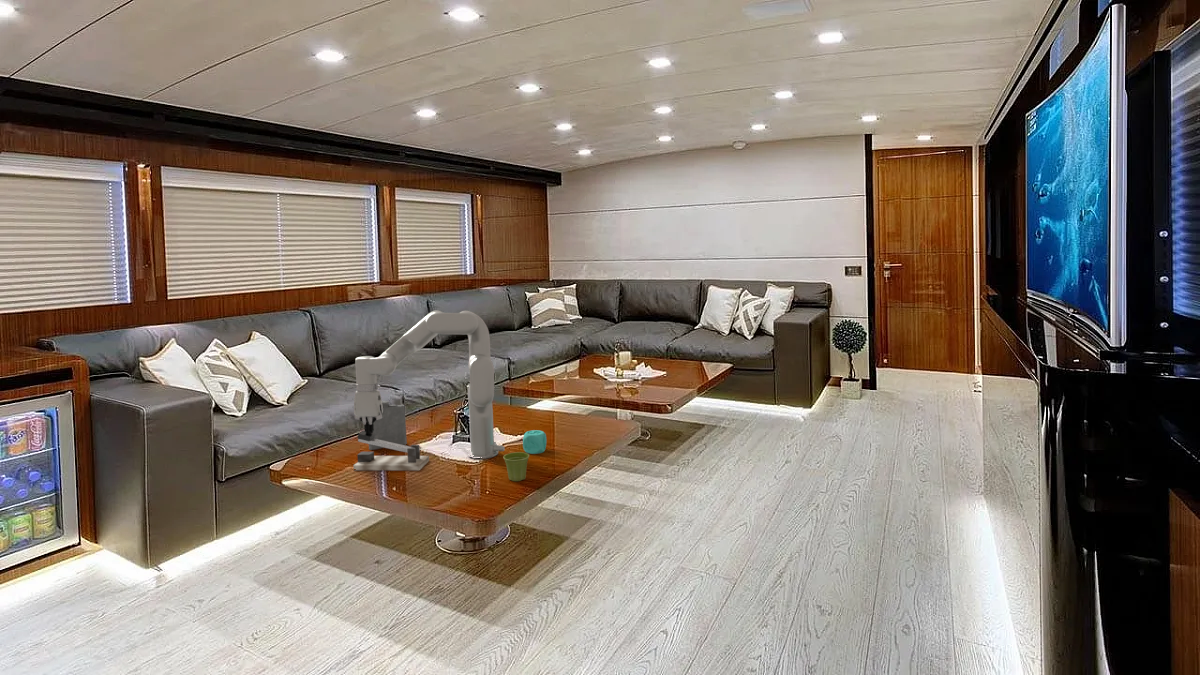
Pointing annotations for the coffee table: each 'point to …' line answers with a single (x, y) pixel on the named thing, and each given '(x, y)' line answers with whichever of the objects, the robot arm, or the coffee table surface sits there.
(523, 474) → the plant pot
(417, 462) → the base
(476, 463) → the coffee table surface
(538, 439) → the decorative dice
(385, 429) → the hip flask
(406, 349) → the robot arm
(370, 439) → the lever
